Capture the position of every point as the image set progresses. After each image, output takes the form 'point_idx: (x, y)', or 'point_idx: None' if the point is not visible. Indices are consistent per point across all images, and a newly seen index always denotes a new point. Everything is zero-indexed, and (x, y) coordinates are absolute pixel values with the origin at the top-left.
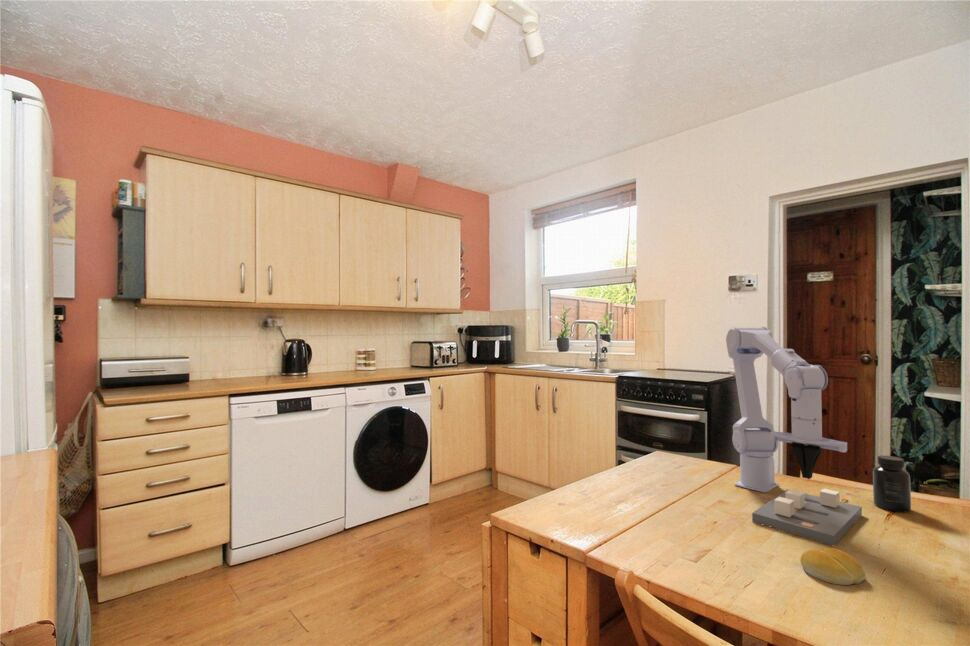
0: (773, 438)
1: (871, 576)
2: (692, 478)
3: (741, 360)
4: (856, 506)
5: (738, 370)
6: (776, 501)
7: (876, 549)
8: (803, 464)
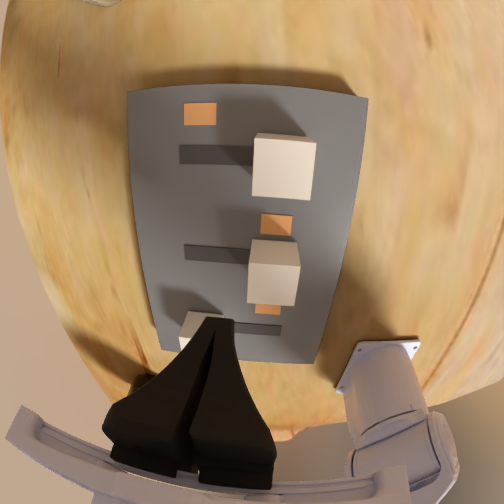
0: (388, 481)
1: (71, 17)
2: (488, 316)
3: None
4: (167, 346)
5: None
6: (307, 141)
7: (82, 158)
8: (212, 362)
